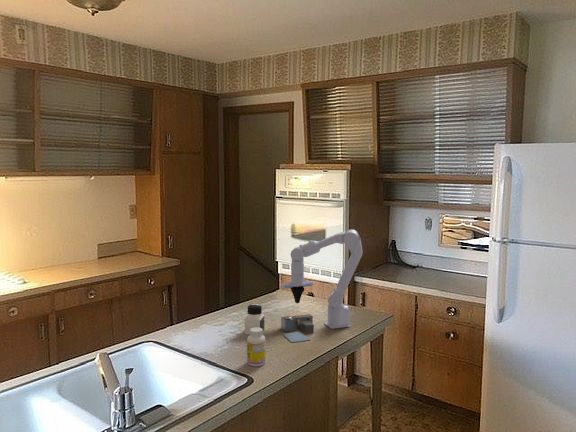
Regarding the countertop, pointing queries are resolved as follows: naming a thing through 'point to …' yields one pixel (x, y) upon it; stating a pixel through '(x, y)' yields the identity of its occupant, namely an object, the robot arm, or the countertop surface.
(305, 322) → the plug
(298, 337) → the mat
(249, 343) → the supplement bottle
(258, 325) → the medicine bottle
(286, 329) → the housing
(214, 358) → the countertop surface
